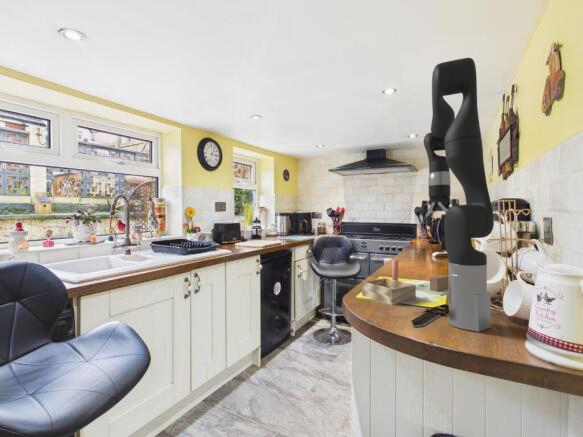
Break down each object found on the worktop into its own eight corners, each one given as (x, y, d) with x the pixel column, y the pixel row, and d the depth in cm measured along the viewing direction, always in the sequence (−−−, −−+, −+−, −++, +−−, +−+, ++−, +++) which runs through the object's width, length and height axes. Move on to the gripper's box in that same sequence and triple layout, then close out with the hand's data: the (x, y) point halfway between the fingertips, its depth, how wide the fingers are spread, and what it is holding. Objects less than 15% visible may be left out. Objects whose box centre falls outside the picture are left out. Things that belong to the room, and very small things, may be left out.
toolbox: (415, 301, 109) (415, 284, 108) (392, 307, 102) (391, 289, 102) (384, 293, 120) (384, 277, 120) (361, 298, 114) (361, 281, 114)
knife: (418, 331, 84) (418, 325, 84) (396, 324, 89) (396, 319, 89) (459, 311, 99) (459, 306, 99) (439, 306, 104) (439, 302, 104)
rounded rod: (399, 290, 125) (399, 260, 125) (396, 291, 123) (395, 261, 123) (394, 289, 127) (394, 259, 127) (391, 289, 125) (390, 260, 125)
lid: (459, 293, 119) (459, 276, 118) (440, 298, 112) (440, 280, 112) (426, 286, 131) (426, 270, 130) (407, 290, 124) (407, 274, 124)
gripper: (416, 185, 122) (417, 226, 123) (451, 182, 110) (451, 228, 110) (428, 186, 126) (429, 226, 127) (463, 183, 114) (463, 227, 114)
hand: (439, 227), depth 118 cm, fingers open, 8 cm apart
